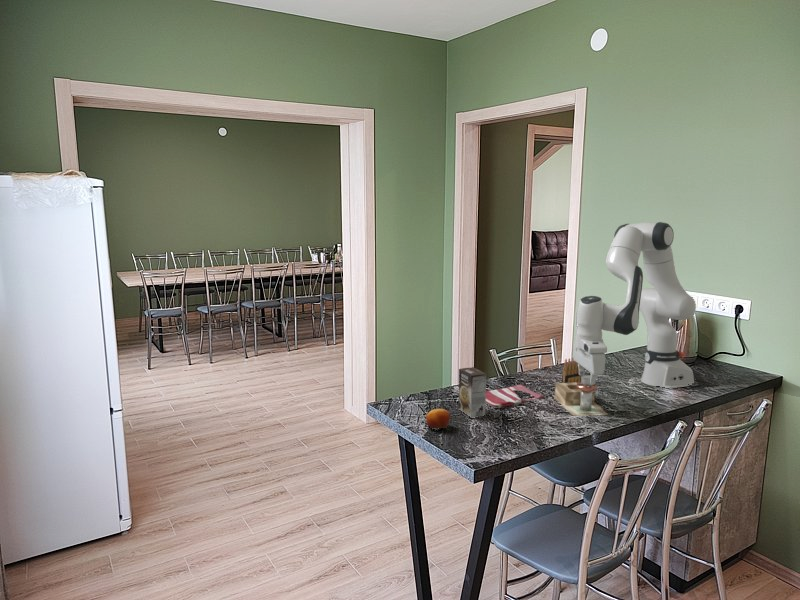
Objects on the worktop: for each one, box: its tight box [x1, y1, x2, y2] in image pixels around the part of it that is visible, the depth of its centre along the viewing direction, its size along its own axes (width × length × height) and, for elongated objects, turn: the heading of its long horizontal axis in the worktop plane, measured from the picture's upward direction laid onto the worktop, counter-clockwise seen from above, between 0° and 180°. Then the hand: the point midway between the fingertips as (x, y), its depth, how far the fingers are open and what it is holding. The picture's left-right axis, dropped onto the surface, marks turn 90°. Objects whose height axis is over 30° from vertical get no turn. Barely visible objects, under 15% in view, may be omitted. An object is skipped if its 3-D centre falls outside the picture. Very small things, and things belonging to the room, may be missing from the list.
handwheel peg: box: [576, 375, 598, 411], centre depth 214 cm, size 7×7×12 cm
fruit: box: [425, 408, 451, 429], centre depth 202 cm, size 8×8×8 cm
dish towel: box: [486, 384, 545, 409], centre depth 231 cm, size 17×23×3 cm
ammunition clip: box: [561, 357, 581, 383], centre depth 246 cm, size 11×2×12 cm, turn 117°
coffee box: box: [458, 367, 487, 417], centre depth 214 cm, size 9×6×16 cm
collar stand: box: [552, 382, 609, 417], centre depth 221 cm, size 13×22×6 cm, turn 5°
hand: (586, 379), depth 214 cm, fingers open, 8 cm apart
